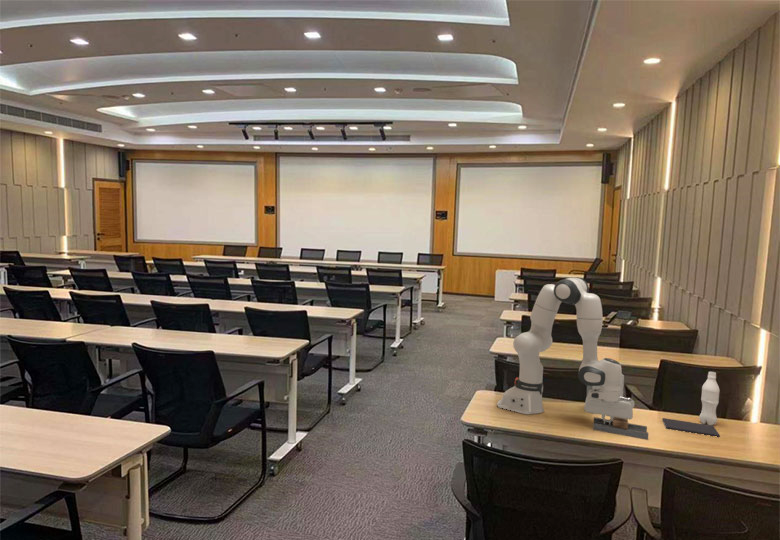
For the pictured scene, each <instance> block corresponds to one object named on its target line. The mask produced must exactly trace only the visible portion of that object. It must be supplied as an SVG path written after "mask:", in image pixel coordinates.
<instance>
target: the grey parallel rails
mask: <svg viewBox="0 0 780 540" xmlns="http://www.w3.org/2000/svg"><path fill="white" fill-rule="evenodd" d="M605 420H608V421H609V420H610V419H607V418H605ZM612 424H613V420H612V421H611V423H610V426H609V425H604V421H603V419H602V417H595V416H594V417H593V425H592V430H593V431H599V432H604V433H610V434H616V435H620V436H626V437H631V438H637V439H642V440H648V441H649V432H648V427H647V426H646V425H640V424H635V423H629V422H628V429H624V428H619V427H613V426H612Z"/></svg>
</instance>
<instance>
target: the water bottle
mask: <svg viewBox="0 0 780 540" xmlns="http://www.w3.org/2000/svg"><path fill="white" fill-rule="evenodd" d="M706 378H707V379H706V381H705V382H704V383H703V385H702V386H701V398H700V400H701V411H700V412H701V413H700V414H699V421H700V424H705V425H706V423H707V425H711V426H715V425H716V424H717V422H718V418H717V407H718V405H719V402H720V401H719V400H720V399H719V398H720V391H721V390H720V387H719V385H718V382H717V373H716V371H708V373H707V377H706Z"/></svg>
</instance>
